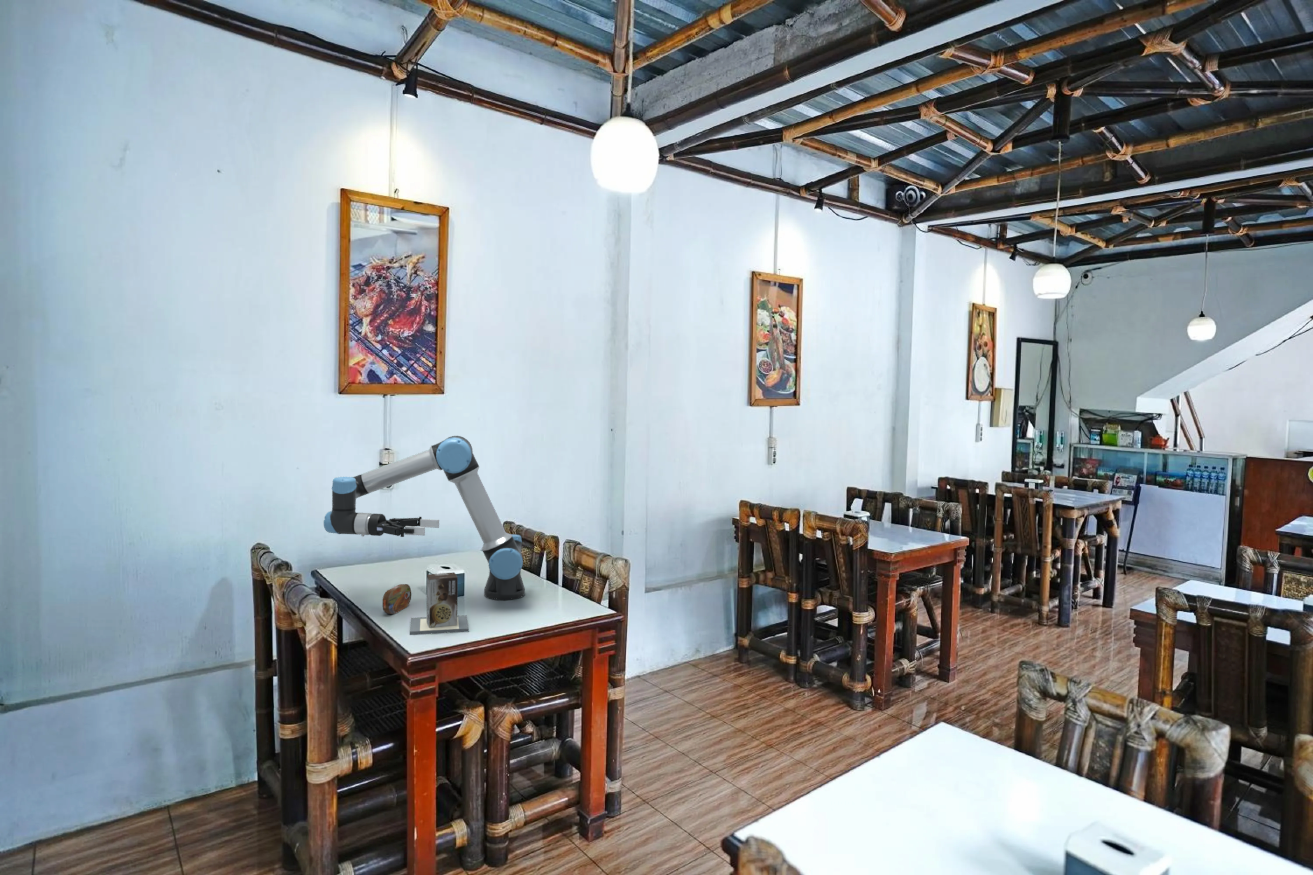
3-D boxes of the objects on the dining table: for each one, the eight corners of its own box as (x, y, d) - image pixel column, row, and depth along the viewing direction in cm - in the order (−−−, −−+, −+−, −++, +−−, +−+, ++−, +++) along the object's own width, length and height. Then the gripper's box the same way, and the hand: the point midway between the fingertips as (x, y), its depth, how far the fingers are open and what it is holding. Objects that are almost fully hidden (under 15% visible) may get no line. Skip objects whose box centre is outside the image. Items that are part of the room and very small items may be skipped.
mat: (466, 617, 254) (466, 614, 254) (468, 631, 240) (468, 628, 240) (411, 620, 248) (411, 617, 248) (409, 634, 235) (409, 631, 235)
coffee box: (454, 619, 248) (455, 571, 247) (457, 625, 242) (458, 576, 241) (425, 622, 244) (426, 573, 243) (428, 628, 238) (429, 578, 237)
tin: (388, 617, 251) (389, 592, 251) (380, 616, 252) (380, 591, 251) (412, 604, 266) (412, 581, 265) (404, 603, 267) (404, 580, 266)
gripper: (386, 528, 269) (444, 531, 267) (354, 542, 244) (417, 546, 243) (386, 507, 268) (444, 510, 267) (354, 520, 243) (418, 523, 242)
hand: (431, 527), depth 255 cm, fingers open, 13 cm apart
